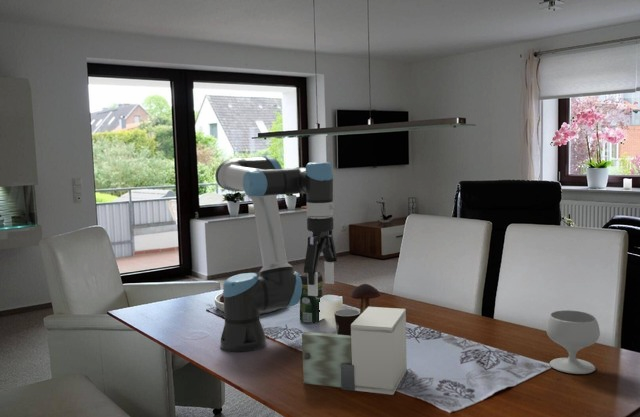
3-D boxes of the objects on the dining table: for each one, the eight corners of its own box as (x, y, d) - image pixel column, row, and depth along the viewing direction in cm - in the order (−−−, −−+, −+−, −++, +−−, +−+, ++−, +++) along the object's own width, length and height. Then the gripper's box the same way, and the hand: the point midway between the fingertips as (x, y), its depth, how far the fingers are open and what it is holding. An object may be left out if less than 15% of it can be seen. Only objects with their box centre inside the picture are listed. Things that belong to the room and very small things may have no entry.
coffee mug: (358, 346, 188) (358, 316, 187) (332, 345, 190) (332, 315, 189) (363, 334, 200) (362, 306, 199) (338, 334, 201) (338, 306, 200)
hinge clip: (341, 389, 155) (340, 356, 154) (347, 381, 160) (347, 349, 159) (355, 391, 153) (354, 358, 152) (361, 382, 159) (360, 350, 158)
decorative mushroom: (347, 326, 209) (346, 286, 208) (356, 318, 219) (355, 279, 218) (376, 329, 205) (375, 288, 204) (384, 320, 215) (383, 281, 214)
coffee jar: (310, 316, 225) (308, 269, 223) (327, 318, 220) (325, 271, 218) (296, 322, 216) (294, 274, 215) (313, 325, 212) (312, 276, 210)
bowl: (249, 295, 262) (248, 278, 262) (301, 303, 245) (300, 285, 244) (199, 311, 238) (198, 292, 237) (253, 321, 221) (252, 301, 220)
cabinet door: (302, 384, 159) (300, 335, 158) (306, 380, 162) (304, 331, 160) (351, 389, 154) (349, 339, 153) (354, 385, 157) (352, 335, 156)
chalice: (539, 358, 172) (539, 309, 171) (586, 357, 172) (587, 308, 170) (556, 377, 158) (557, 323, 157) (608, 376, 158) (609, 322, 156)
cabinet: (352, 390, 154) (350, 324, 152) (369, 365, 171) (368, 306, 169) (393, 394, 150) (391, 327, 148) (406, 369, 167) (405, 308, 165)
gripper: (316, 223, 151) (318, 302, 154) (346, 211, 174) (347, 279, 177) (290, 222, 154) (292, 299, 156) (323, 210, 177) (324, 278, 179)
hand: (321, 289), depth 167 cm, fingers open, 13 cm apart
